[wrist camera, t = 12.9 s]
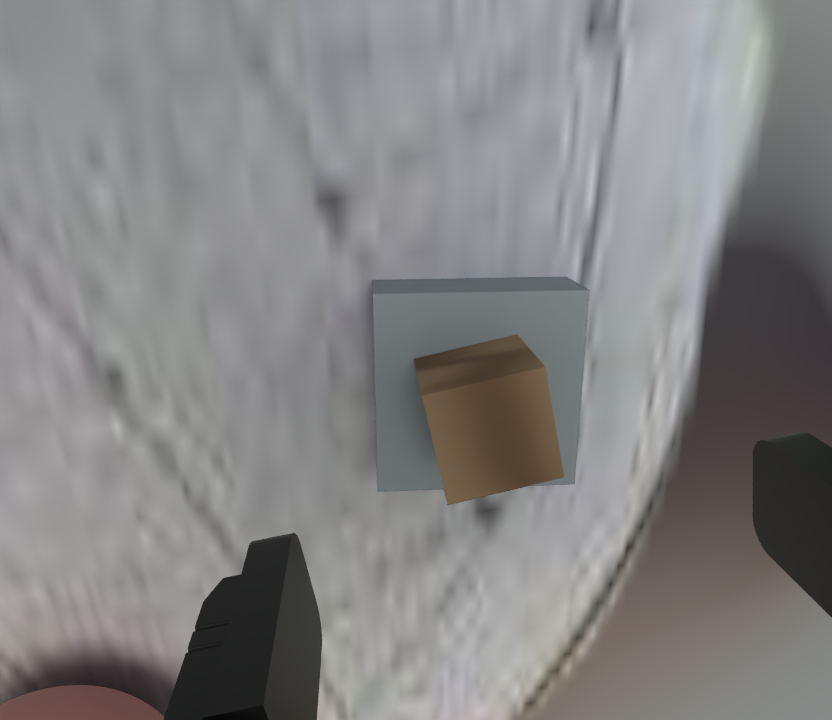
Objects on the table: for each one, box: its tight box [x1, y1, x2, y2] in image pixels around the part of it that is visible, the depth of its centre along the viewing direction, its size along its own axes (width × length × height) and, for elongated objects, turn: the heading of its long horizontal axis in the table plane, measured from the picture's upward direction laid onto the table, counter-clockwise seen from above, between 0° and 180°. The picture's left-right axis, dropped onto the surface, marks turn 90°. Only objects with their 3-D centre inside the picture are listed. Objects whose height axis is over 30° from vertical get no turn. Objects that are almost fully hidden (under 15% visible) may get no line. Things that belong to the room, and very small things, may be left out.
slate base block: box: [372, 277, 589, 492], centre depth 33 cm, size 10×10×4 cm
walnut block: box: [414, 334, 564, 505], centre depth 28 cm, size 5×5×5 cm
